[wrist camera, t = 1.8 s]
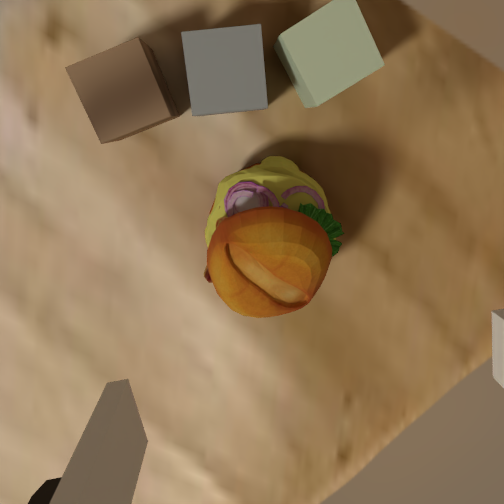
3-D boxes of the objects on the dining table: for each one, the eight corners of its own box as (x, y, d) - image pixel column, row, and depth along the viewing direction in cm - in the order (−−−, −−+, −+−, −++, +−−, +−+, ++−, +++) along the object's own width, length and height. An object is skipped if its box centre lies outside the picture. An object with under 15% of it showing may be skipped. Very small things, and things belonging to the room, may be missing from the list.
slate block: (189, 45, 31) (181, 31, 27) (256, 38, 31) (260, 23, 27) (198, 116, 33) (192, 115, 28) (262, 109, 33) (267, 108, 28)
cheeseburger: (343, 162, 34) (376, 219, 26) (309, 271, 40) (327, 348, 31) (218, 139, 33) (209, 191, 25) (201, 255, 39) (188, 330, 30)
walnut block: (90, 75, 32) (65, 67, 27) (152, 49, 31) (137, 37, 27) (120, 140, 33) (101, 143, 28) (179, 116, 33) (170, 116, 28)
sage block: (272, 46, 32) (280, 34, 27) (332, 8, 31) (350, -12, 26) (305, 108, 33) (317, 106, 28) (362, 72, 32) (384, 65, 28)
